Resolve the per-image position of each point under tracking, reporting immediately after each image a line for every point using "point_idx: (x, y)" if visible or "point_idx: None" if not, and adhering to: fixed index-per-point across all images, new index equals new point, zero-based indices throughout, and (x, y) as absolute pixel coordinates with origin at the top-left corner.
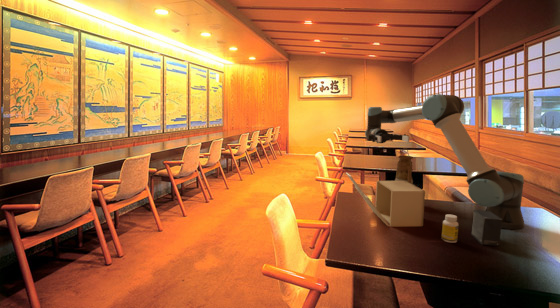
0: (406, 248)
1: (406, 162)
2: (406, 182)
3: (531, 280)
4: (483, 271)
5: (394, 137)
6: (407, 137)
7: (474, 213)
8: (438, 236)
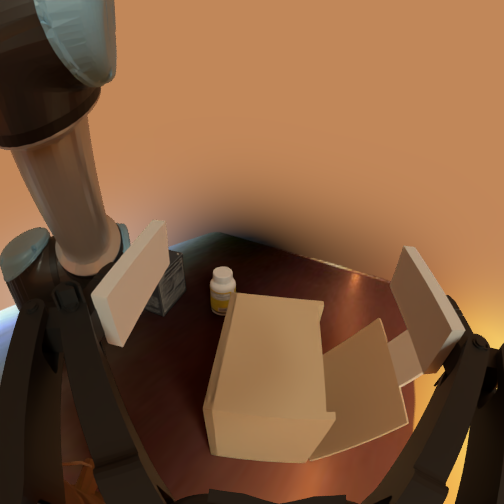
0: (309, 298)
1: (78, 491)
2: (218, 381)
3: (215, 240)
4: (247, 253)
5: (133, 433)
6: (162, 234)
7: (161, 279)
8: None
